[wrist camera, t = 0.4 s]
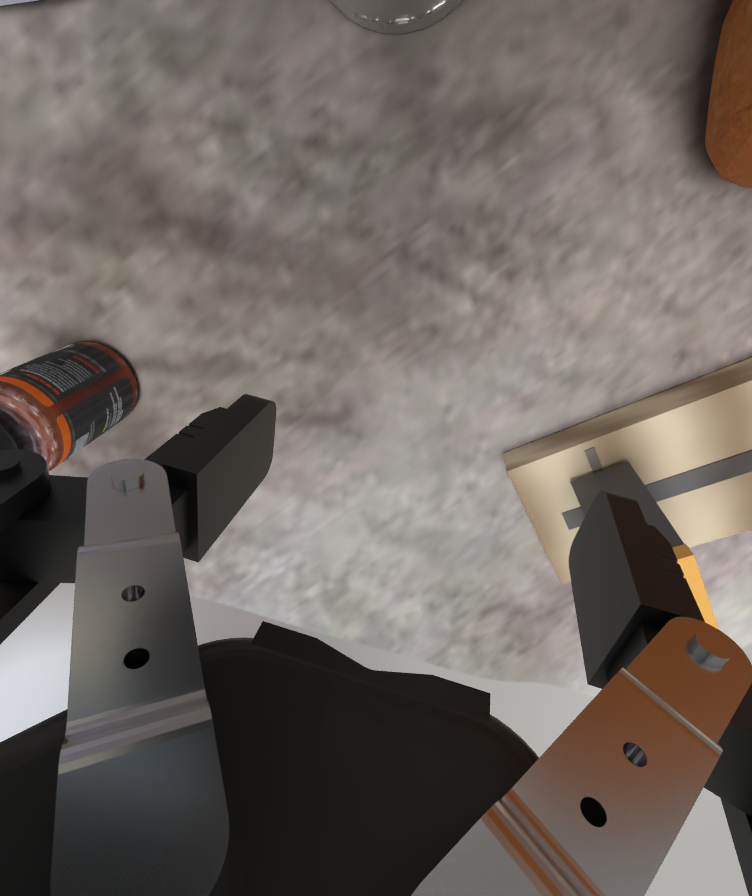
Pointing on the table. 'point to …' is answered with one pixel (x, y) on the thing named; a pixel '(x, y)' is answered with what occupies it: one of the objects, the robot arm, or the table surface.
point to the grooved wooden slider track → (650, 462)
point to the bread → (732, 98)
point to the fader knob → (630, 485)
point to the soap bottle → (13, 2)
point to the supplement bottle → (64, 400)
